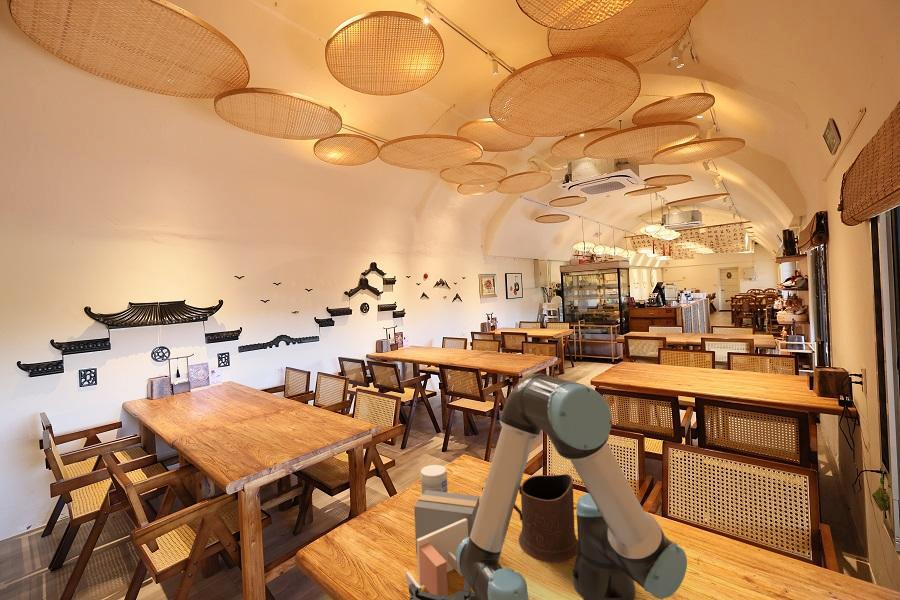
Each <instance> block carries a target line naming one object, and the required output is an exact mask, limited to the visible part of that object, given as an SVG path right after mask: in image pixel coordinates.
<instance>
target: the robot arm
mask: <svg viewBox="0 0 900 600" xmlns="http://www.w3.org/2000/svg"><path fill="white" fill-rule="evenodd" d="M611 414H612V412H611V410H610V406H609V404H608V402H607V401H606V399H605V398H604V396H602V394H600V393H599V392H598V391H597V390H595V389H593V388H592V387H588V386H587V385H585V384H582V383H579V382H576V381H575V382H573V381H570V380H566V379H562V378H558V377H554V376H551V375H550V374H544V373H534V374H531V375H528V376H526V377H524V378H522V379H521V380H520V381H519V382H517V384H515V386H514V387H513V388H512V390H511V391H510V393H509V395H508V397H507V399H506V401H505V403H504V406H503V409H502V411H501V415H500V418H499V424H500V425H501V430H500V434H499V437H498V440H497V443H496V446H495V449H494V454H493V458H492V459H491V463H490V467H489V470H488V474H487V476H488V477H487V476H486V477H487V480H486V483H485V482H484V483H485V486H484V487H483V490H482V494H481V498H480V499H479V507H478V510H477V514H476V517H475V521H474V524H473V527H472V531H471V534H470V537H467V538H465V539H464V540H462V542H461V543H460V545H458V547H457V550H456V557H455V556H454V555H453V554H452V553H451V552H450V551H449V552H448V563H449V564H450V565H451V566H452V567H453V568H454V569H453V570H455V571H456V573H458V575H460V577H463V578H464V581H463V582H464V584H463V585H464V586H463V590H461V589H459V590H458V591H456V593H453V594H451V595H448V596H446V595H443V597H442V596H438V595H434V594H430V593H429V592H426V591H422V586H420V585H419V582H418V581H416V579H415V577H413V575H412V574H411V572H410V571H406V572H405V584H406V585H407V586H408V593H409V595H410V596H409V600H530V599H529V594H528V593H529V592H528V585H527V581H526V579H525V578H524V576H523V575H522V574H521V573H520V572H518V571H515V570H514V569H512V568H507V567H504V568H503V567H502V565H501V564H500V563H499V561H500V557H501V555H502V550H503V546H504V543H505V539H506V536H507V532H508V529H509V525H510V522H511V518H512V516H513V515H512V514H513V511H514V505H516V500H517V498H518V495H519V488H520V485H522V481H523V477H524V473H525V469H526V466H527V462H528V459H529V456H530V453H531V448H532V445H533V442H534V440H535V439H536V438H538V437H540V435H541V434H540V433H541V431H543V432H544V433H545V434H546V435H547V437H548V438H549V441H550V442H551V443H552V445H553V448H555V451H556V452H557V453H558V455H559V456H561V457H562V458H564V459H566V460H570V462H571V464H572V466H573V467H574V470H575V471H576V473H577V475H578V477H579V478H580V480H581V481H582V483H583V485H584V487H585V488H586V491H587V493H585V494H582V495H581V496H579V498H578V499H577V503H576V527H577V529H576V530H577V540H578V550H579V551H578V555H577V556H576V557H575V561H574V564H573V568H572V583H573V584H572V585H573V588H574V589H575V590H576V592H577V593H578V595H580V596H581V598H583V599H584V600H585V599H586V600H635V597H636V586H635V583H637V584H638V585H639V586H640V587H641V588H643V591H645V592H647V593H648V594H650V595H652V596H653V597H654V598H657V599H659V600H664V599H666V598H670V597H672V596H673V595H674V594H675V593H676V592H677V591H678V590H679V588H680V587H681V585H682V583H683V581H684V579H685V575H686V573H687V569H688V567H687V566H688V558H687V554H686V552H685V550H684V549H683V548H682V547H681V546H679V545H678V543H676V542H674V541H671V540H670V539H669V538H668V537H667V536H666V535H665V533H664V532H663V529H662V528H661V526H660V524H659V522H658V521H657V519H656V518H655V517H654V516H653V515H651V514H650V513H649V512H646V511H644V509H643V507H642V505H641V503H640V501H639V499H638V498H637V496H636V494H635V492H634V490H633V488H632V486H631V485H630V482H629V481H628V479H627V477H626V475H625V473H624V472H623V470H622V468H621V465H620V464H619V462H618V460H617V459H616V458H617V457H616V456H615V454H614V453H613V451H612V449H611V447H610V446H609V443H608V442H609V440H610V439H609V438H610V432H611V429H612V424H611V423H610V421H611V420H612V415H611ZM470 589H471V590H472V591H471V590H470Z"/></svg>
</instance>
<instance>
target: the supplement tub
mask: <svg viewBox="0 0 900 600" xmlns="http://www.w3.org/2000/svg"><path fill="white" fill-rule="evenodd" d="M447 476H448V473H447V468H446V467H445V466H443V465H440V464H430V465H427V466H424V467H423V468H421V470H420V488H421V494H422V495H423V493H424V492H425V490H430V491H439V492H447V493H449V492H448V477H447Z"/></svg>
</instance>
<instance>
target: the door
mask: <svg viewBox="0 0 900 600" xmlns="http://www.w3.org/2000/svg"><path fill="white" fill-rule="evenodd" d="M467 537H468V520H467V519H466V518H464V519H462V520H460V521H457V522H455V523H453V524H451V525H448V526H446V527H444V528H441V529H439V530H437V531H435V532H432V533H430V534H428V535H425V536H423V537H421V538H419V539H417V552H416V554H417V576H418V579H417V580H418V581H417V583H418V584H419V586H420V587H422V586H424V588H425V589H426V591H428V593H430V594H434V595H438V596H442V597H443V595H446V596H449V587H448V573H449V572H451V571H452V570H455V569H454V568H453V567H452V566H451V565H450V564H449V563H448V552H449V551H450V552H451V553H452V554H453V555H454V556H455V557H456V550H457V547H458V545H460V543H461V542H462V540H464V539H465V538H467Z"/></svg>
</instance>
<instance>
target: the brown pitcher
mask: <svg viewBox="0 0 900 600" xmlns="http://www.w3.org/2000/svg"><path fill="white" fill-rule="evenodd" d="M573 479H574V478H573V477H572V475H570V474H568V473H567V474H557V475H556V474H552V475H551V474H549V475H548V474H547V475H543V474H540V475H539V474H538V475H532V476H529V477H527V478H526V479H525V480H524V481H523V482H521V484H520V488H519V491H518V495H520V498H521V499H520V503H521V504H520V505H521V509H520V508H519V507H518V506H517V504H515V505H514V508H513V510H515V512H516V513H517V514H518V515H519V520H520V521H521V524H522V525H521V527H522V528H521V531H520V534H519V536H518V544H519V547H520V548H521V550H522V551H523V552H524V553H525V554H526V555H527V556H529V557H530V558H532V559H534V560H536V561H539V562H542V563H548V564H561V563H562V564H563V563H568V562H570V561H572V560H574V559H576V558H577V555H578V551H579V550H578V537H577V536H576V533H575V530H576V529H575V507H574V505H575V504H574V480H573Z"/></svg>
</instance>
